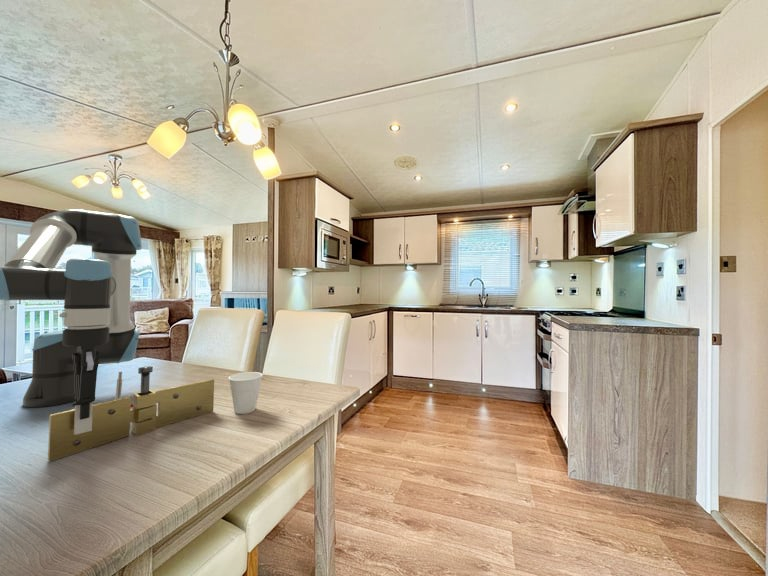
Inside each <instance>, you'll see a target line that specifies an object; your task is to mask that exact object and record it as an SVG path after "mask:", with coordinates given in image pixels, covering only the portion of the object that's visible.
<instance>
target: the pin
mask: <svg viewBox="0 0 768 576" xmlns="http://www.w3.org/2000/svg"><path fill="white" fill-rule="evenodd" d="M153 371H154V368H153V366H152V365H151V366H150V365H149V366H141V367H138V374H139V375H140V392H141V395H146V394H149V390H150V377H151V376H150V375H151V373H153ZM141 395H140V396H141ZM145 408H147V407H145ZM141 409H143V408H141Z"/></svg>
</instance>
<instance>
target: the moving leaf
mask: <svg viewBox="0 0 768 576" xmlns="http://www.w3.org/2000/svg"><path fill="white" fill-rule="evenodd" d="M131 404H132V397H131V396H126V397H125V396H124V397H121V398H120V399H115V398H114V399H112V400H107V401H103V402H99V403H93V411H92V431H88V432H84V433H80V434H76V435H75V434H74V417H75V408H73V409H70V410H65V411H61V412H57V413H52V414H49V420H48V421H49V422H48V423H49V424H48V425H49V426H48V444H47V445H48V450H47V451H48V452H47V461H48V462H51V461H55V460H57V459H61V458H64V457H67V456H71V455H74V454H77V453H80V452H82V451H86V450H89V449H92V448H95V447H98V446H101V445H104V444H107V443H111V442H113V441H117V440H119V439H123V438H125V437H129V436H130V433H131V431H130V430H131V423H132V422H133V421H137V422H140V421H144V420H147V419H150V418H154V417H156V415H157V414H158V405H157V404H156V405H154V406H149V407H147V408H143V409H136V408H135V407H131Z"/></svg>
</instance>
